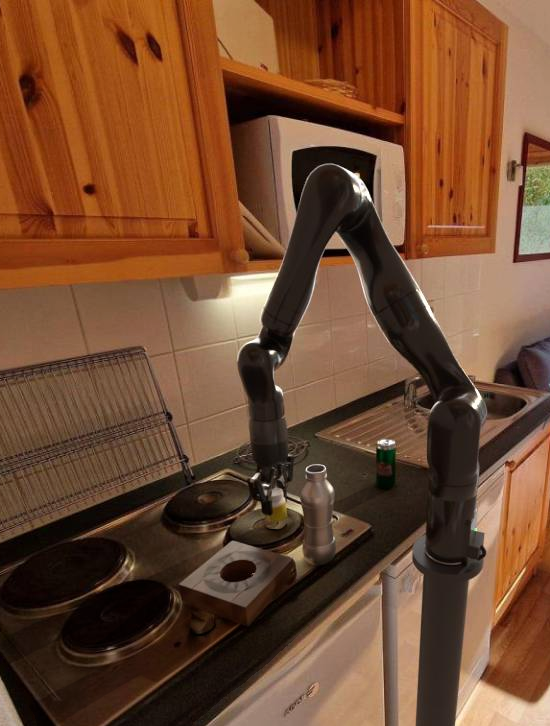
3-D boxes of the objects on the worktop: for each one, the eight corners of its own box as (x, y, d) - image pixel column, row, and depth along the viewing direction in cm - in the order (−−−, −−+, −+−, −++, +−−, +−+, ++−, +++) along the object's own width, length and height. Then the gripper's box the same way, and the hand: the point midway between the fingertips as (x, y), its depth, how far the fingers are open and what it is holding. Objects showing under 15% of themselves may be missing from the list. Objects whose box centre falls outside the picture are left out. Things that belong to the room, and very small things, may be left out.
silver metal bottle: (296, 559, 95) (290, 468, 87) (323, 545, 99) (319, 457, 92) (316, 574, 90) (311, 480, 83) (343, 559, 95) (341, 468, 87)
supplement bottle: (291, 523, 107) (289, 490, 103) (277, 533, 103) (274, 499, 100) (275, 517, 109) (272, 484, 106) (260, 526, 105) (257, 493, 102)
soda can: (373, 487, 122) (373, 444, 118) (379, 478, 127) (380, 437, 122) (392, 490, 121) (392, 447, 116) (397, 482, 125) (398, 439, 121)
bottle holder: (294, 575, 90) (293, 558, 89) (247, 626, 78) (245, 607, 77) (234, 557, 95) (232, 540, 94) (181, 602, 83) (178, 584, 82)
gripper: (263, 452, 90) (270, 529, 97) (303, 427, 103) (307, 496, 109) (231, 446, 93) (240, 520, 99) (273, 422, 105) (279, 490, 112)
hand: (275, 507), depth 104 cm, fingers closed on supplement bottle, 4 cm apart
